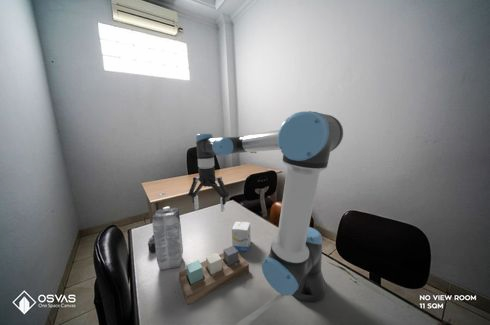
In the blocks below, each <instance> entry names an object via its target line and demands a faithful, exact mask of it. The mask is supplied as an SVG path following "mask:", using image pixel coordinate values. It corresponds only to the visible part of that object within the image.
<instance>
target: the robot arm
mask: <svg viewBox="0 0 490 325" xmlns="http://www.w3.org/2000/svg"><path fill="white" fill-rule="evenodd" d="M213 136H214V135H213V134H212V133H197V134H196V135H195V140H196V141H195V144H196V155H197V167H198V176H194V177H193V178H192V184H191V185H190V189H189V191H188V194H187V195H188V196H189V197H192V203H193V204H194V210H195V211H197V210H198V209H200V207H199V206H200V202H199V196H198V193H199V192H200V191H201V189H202V188H203V187H204V188H205V187H209V188H210V187H211V188H212V189H213V190H214V191H215V192H216V193H217V194H218V195H219V196H220V200H219V201H220V202H219V203H220V212H221V213H223V212H224V211H225V209H226V208H225V205H226V203H227V199H226V198H228V197H229V196H230V193H229V191H228V189H227V187H226V184H224V181H223V178H222V176H219V177H218V176H217V177H216V168H215V156H220V157H223V156H224V157H225V156H229V155H233V154H240V153H241V154H242V153H251V152H253V153H254V152H266V151H267V152H268V151H280V152H281V153H282V154H283V155H282V163H283V164H284V165H285V166H286V173H285V178H284V179H285V181H284V187H283V192H282V193H283V194H282V201H281V206H280V207H281V208H280V216H279V222H278V228H277V236H275V237H274V238H272V240H271V242H270V243H271V244H270V251H269V255H268V256H266V257H265V258H264V260H263V261H262V263H261V271H262V274H263V276H264V278H265V280H266V281H267V282H268V284H269V285H270V287H271V288H272V289H273V290H274V291H276V292H277V293H279V295H280V294H281V295H283V296H287V297H288V296H293V297H295V299H296V298H297V299H298V300H300V301H303V302H305V303H306V302H307V303H315V302H319V301H320V300H322V299H323V298H324V297H325V295H326V291H327V290H326V289H327V288H326V287H327V286H326V280H325V278H324V276H323V271H322V259H323V258H322V257H323V254H322V253H323V243H324V242H323V236H322V234H321V233H320V231H318V230H317V229H315V228H314V227H311V226H310V223H311V218H312V212H313V209H314V202H315V196H316V192H317V187H318V183H319V176H320V173H321V172H323V171H324V170H326V169H327V168H328V165H329V158H330V155H331V152H333V151H334V150H335V149H337V148H338V147H339V146H340V144H341V143H342V141H343V138H344V129H343V125H342V123H341V122H340V121H339V120H338V119H337V118H336V117H334V115H330V114H325V113H322V112H321V113H320V112H317V111H311V110H310V111H308V110H307V111H299V112H295V113H293V114H291V115H290V116H288V117H287V118H286V119H285V120H284V121H283V122H282V124H281V126H280V128H279V129H278V130H272V131H266V132H261V133H259V132H258V133H254V134H253V133H252V134H249V135H241V136H231V137H230V136H229V137H228V136H226V137H225V136H218V137H213ZM198 182H200V183H199V184H198ZM197 184H198V186H197Z"/></svg>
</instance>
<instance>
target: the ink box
mask: <svg viewBox="0 0 490 325" xmlns="http://www.w3.org/2000/svg"><path fill="white" fill-rule="evenodd" d="M251 236H252V234H251V222H250V221H249V222H247V221H235V222H234V223H233V225H232V228H231V243H232V245H231V246H234V247H235V249H236V250H237V251H238V252H249V250H250V246H251V243H252V242H251V241H252V239H251Z"/></svg>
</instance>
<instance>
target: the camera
mask: <svg viewBox="0 0 490 325" xmlns="http://www.w3.org/2000/svg"><path fill="white" fill-rule="evenodd" d="M147 246H148V252H149V254H154V253H155V254H156V249H155V241H154V234H152V236H151V237H150V238H149V239H148V241H147Z"/></svg>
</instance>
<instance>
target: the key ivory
mask: <svg viewBox="0 0 490 325" xmlns="http://www.w3.org/2000/svg"><path fill="white" fill-rule="evenodd" d="M219 255H220V254H218V252H215V253H212V254H209V255H208V256H206V257H205V259H206V260H205V261H206V262H207V269H208V270H209V275H210V276H212V275H214V274H216V273H218V272H220V270H222V260H221V258H220V256H219Z"/></svg>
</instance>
